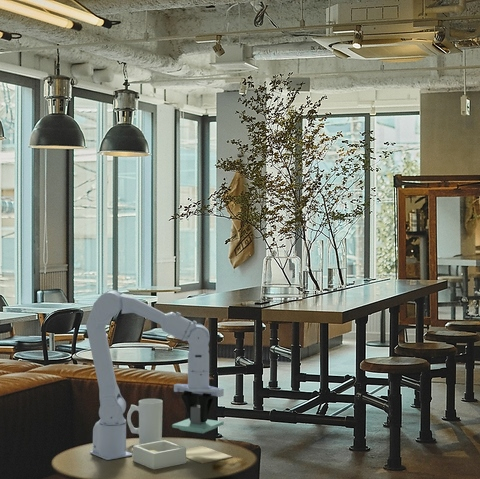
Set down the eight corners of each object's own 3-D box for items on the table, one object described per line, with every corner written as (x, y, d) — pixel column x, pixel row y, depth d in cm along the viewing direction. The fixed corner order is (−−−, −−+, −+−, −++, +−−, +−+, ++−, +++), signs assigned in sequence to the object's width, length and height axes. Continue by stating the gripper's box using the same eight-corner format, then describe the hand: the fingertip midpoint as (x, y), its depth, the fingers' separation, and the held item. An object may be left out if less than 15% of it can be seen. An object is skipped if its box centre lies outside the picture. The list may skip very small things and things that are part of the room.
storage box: (133, 460, 239) (133, 445, 239) (164, 454, 245) (164, 440, 245) (153, 469, 231) (153, 453, 231) (186, 463, 238) (186, 447, 237)
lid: (172, 430, 243) (172, 407, 243) (192, 423, 251) (192, 401, 251) (204, 435, 238) (204, 411, 238) (223, 427, 247) (223, 405, 246)
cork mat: (172, 452, 248) (172, 451, 248) (201, 446, 254) (201, 445, 254) (202, 463, 237) (202, 462, 237) (232, 457, 243) (232, 456, 243)
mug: (163, 440, 261) (163, 398, 261) (161, 446, 255) (161, 403, 254) (128, 440, 261) (128, 398, 261) (125, 446, 255) (125, 403, 254)
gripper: (167, 370, 244) (167, 420, 245) (214, 375, 237) (213, 426, 238) (181, 366, 250) (181, 415, 251) (227, 371, 243) (227, 421, 244)
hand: (198, 420), depth 245 cm, fingers closed on lid, 3 cm apart
